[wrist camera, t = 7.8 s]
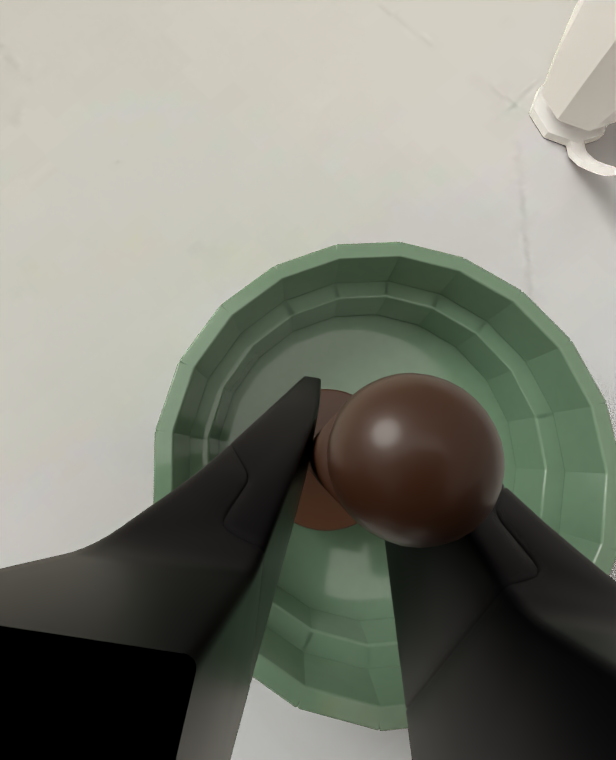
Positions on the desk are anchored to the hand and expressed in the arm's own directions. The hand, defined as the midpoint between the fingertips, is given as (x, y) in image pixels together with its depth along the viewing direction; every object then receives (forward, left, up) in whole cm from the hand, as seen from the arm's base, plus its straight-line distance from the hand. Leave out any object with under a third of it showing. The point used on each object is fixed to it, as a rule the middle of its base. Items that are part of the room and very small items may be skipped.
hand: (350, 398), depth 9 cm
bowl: (-2, -1, -8) cm, 8 cm away
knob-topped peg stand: (-1, +1, -6) cm, 7 cm away
